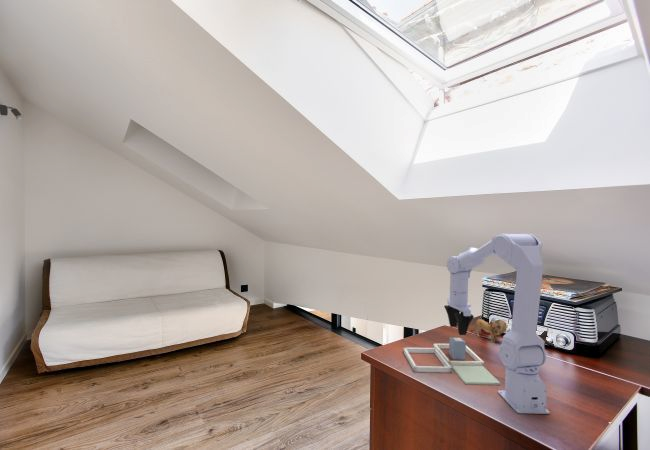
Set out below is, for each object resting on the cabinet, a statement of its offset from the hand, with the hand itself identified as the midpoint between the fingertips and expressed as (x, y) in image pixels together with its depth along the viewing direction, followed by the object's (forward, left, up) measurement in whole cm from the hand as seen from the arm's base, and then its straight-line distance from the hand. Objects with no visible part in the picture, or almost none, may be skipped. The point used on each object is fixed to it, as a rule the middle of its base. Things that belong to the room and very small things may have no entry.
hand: (457, 330), depth 109 cm
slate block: (0, 0, -9) cm, 9 cm away
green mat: (-13, 0, -9) cm, 16 cm away
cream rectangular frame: (0, 0, -9) cm, 9 cm away
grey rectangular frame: (-4, +12, -9) cm, 16 cm away
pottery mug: (+13, -37, -10) cm, 40 cm away
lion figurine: (+17, -20, -10) cm, 28 cm away
